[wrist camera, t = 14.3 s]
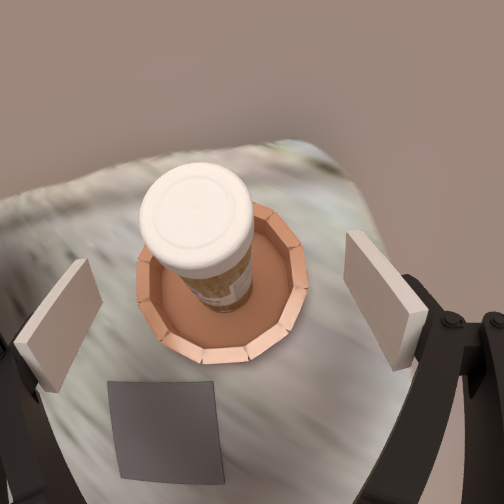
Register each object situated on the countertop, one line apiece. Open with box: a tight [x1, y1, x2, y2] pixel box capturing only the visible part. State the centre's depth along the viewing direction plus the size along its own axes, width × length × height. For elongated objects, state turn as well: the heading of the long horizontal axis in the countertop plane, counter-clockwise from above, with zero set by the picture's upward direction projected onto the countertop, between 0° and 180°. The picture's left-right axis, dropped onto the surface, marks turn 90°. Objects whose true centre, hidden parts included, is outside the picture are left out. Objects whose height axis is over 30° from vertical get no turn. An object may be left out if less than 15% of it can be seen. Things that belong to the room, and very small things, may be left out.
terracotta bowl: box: [137, 202, 309, 364], centre depth 23 cm, size 12×12×4 cm
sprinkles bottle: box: [139, 162, 254, 313], centre depth 18 cm, size 5×5×13 cm
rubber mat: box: [107, 381, 225, 485], centre depth 21 cm, size 9×9×1 cm
